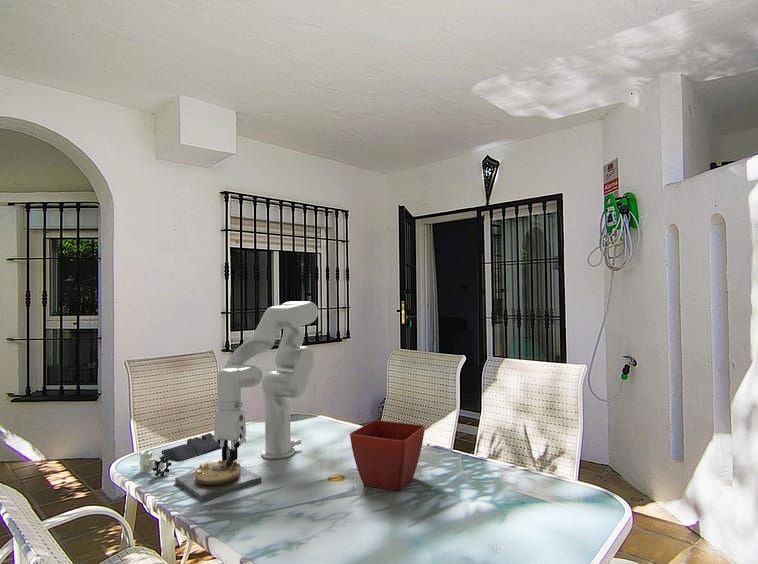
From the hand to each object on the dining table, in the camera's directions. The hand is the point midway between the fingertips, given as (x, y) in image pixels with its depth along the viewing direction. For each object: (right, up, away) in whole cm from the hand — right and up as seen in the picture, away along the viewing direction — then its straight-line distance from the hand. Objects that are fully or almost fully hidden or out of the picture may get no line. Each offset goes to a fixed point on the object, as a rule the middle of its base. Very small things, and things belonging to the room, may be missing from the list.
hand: (229, 459), depth 163 cm
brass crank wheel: (-2, -4, -5) cm, 7 cm away
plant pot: (+54, -5, -7) cm, 54 cm away
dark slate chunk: (-23, -7, +28) cm, 37 cm away
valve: (-28, -7, +4) cm, 29 cm away
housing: (-2, -6, -5) cm, 8 cm away
